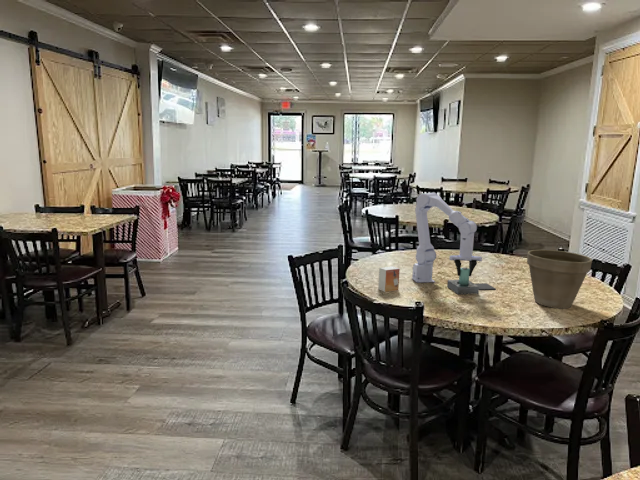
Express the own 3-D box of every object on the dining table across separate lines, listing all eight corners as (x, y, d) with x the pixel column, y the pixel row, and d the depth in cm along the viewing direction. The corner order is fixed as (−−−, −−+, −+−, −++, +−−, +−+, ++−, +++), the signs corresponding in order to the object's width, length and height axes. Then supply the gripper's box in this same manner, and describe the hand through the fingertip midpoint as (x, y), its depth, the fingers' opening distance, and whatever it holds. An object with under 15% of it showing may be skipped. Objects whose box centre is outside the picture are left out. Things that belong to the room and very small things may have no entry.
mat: (477, 290, 227) (478, 289, 227) (469, 284, 236) (469, 283, 236) (495, 289, 228) (495, 288, 228) (486, 284, 237) (486, 283, 237)
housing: (457, 294, 220) (458, 287, 219) (447, 286, 231) (447, 279, 231) (478, 293, 221) (479, 286, 221) (466, 286, 233) (467, 279, 232)
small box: (384, 292, 221) (385, 270, 219) (377, 289, 226) (378, 267, 224) (398, 290, 224) (400, 268, 222) (391, 287, 229) (392, 265, 227)
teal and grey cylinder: (459, 285, 224) (461, 269, 222) (457, 282, 228) (458, 266, 227) (469, 285, 223) (470, 269, 222) (467, 283, 228) (468, 267, 226)
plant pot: (576, 297, 219) (582, 251, 215) (593, 315, 195) (600, 263, 191) (518, 292, 224) (522, 247, 220) (528, 309, 201) (533, 259, 196)
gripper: (452, 248, 219) (450, 277, 221) (484, 249, 218) (482, 278, 221) (449, 245, 226) (447, 273, 228) (480, 246, 225) (478, 274, 228)
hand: (464, 275), depth 225 cm, fingers closed on teal and grey cylinder, 4 cm apart
